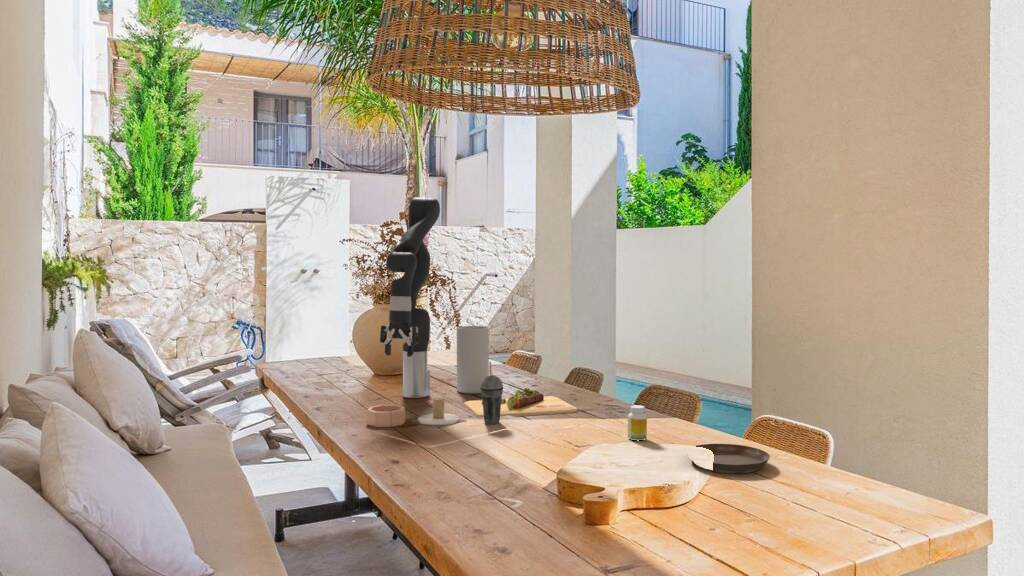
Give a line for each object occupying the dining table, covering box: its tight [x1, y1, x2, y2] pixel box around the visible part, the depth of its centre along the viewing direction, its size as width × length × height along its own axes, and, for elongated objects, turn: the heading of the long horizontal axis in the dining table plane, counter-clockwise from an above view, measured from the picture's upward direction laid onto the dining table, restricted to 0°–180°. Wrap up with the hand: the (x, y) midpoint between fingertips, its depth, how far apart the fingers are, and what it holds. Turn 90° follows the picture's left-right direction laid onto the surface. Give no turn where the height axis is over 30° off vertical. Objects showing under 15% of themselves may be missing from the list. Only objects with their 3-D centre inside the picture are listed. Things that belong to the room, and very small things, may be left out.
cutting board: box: [463, 387, 578, 417], centre depth 256 cm, size 35×23×8 cm
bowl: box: [366, 404, 406, 428], centre depth 231 cm, size 11×11×5 cm
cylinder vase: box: [456, 325, 490, 395], centre depth 287 cm, size 12×12×25 cm
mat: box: [410, 418, 467, 429], centre depth 234 cm, size 13×13×1 cm
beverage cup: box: [480, 361, 504, 426], centre depth 231 cm, size 7×7×20 cm
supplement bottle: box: [627, 404, 648, 441], centre depth 213 cm, size 5×5×10 cm
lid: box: [417, 397, 460, 426], centre depth 234 cm, size 13×13×7 cm
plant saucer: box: [695, 443, 771, 475], centre depth 188 cm, size 21×21×3 cm
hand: (398, 355), depth 256 cm, fingers open, 8 cm apart
